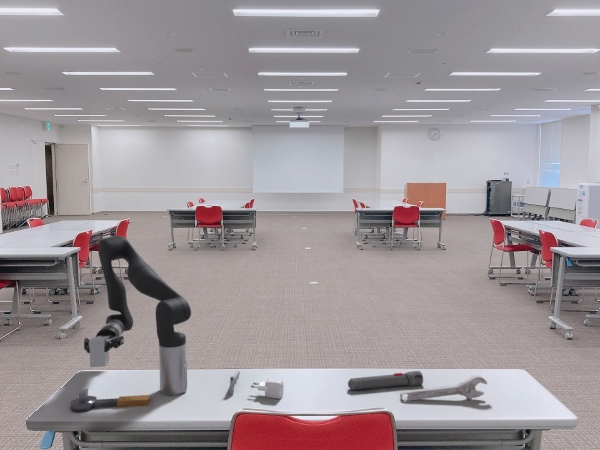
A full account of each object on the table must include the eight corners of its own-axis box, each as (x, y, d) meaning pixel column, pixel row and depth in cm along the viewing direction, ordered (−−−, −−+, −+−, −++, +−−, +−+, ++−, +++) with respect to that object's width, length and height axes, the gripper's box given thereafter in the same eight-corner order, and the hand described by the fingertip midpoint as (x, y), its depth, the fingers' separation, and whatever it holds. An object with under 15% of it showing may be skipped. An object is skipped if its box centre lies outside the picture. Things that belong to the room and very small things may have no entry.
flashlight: (346, 388, 175) (346, 374, 175) (417, 381, 182) (417, 368, 181) (351, 394, 171) (351, 380, 170) (423, 386, 177) (423, 373, 176)
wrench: (401, 406, 167) (486, 396, 167) (402, 409, 165) (488, 399, 165) (398, 384, 166) (484, 374, 166) (399, 386, 164) (486, 376, 164)
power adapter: (249, 397, 167) (249, 380, 167) (254, 391, 172) (254, 375, 172) (280, 400, 165) (280, 384, 164) (284, 394, 169) (284, 378, 169)
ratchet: (151, 397, 167) (150, 382, 166) (147, 408, 159) (146, 392, 158) (74, 402, 163) (74, 386, 163) (67, 413, 155) (66, 396, 155)
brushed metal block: (109, 361, 171) (108, 336, 170) (105, 366, 166) (104, 340, 165) (94, 362, 170) (93, 337, 169) (90, 367, 165) (89, 341, 164)
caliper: (233, 396, 169) (232, 378, 168) (230, 396, 169) (229, 378, 168) (239, 373, 189) (239, 357, 188) (237, 373, 189) (236, 357, 188)
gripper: (89, 326, 180) (74, 340, 164) (128, 324, 182) (118, 338, 166) (89, 345, 181) (75, 361, 164) (129, 343, 183) (119, 359, 166)
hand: (97, 349), depth 165 cm, fingers closed on brushed metal block, 5 cm apart
